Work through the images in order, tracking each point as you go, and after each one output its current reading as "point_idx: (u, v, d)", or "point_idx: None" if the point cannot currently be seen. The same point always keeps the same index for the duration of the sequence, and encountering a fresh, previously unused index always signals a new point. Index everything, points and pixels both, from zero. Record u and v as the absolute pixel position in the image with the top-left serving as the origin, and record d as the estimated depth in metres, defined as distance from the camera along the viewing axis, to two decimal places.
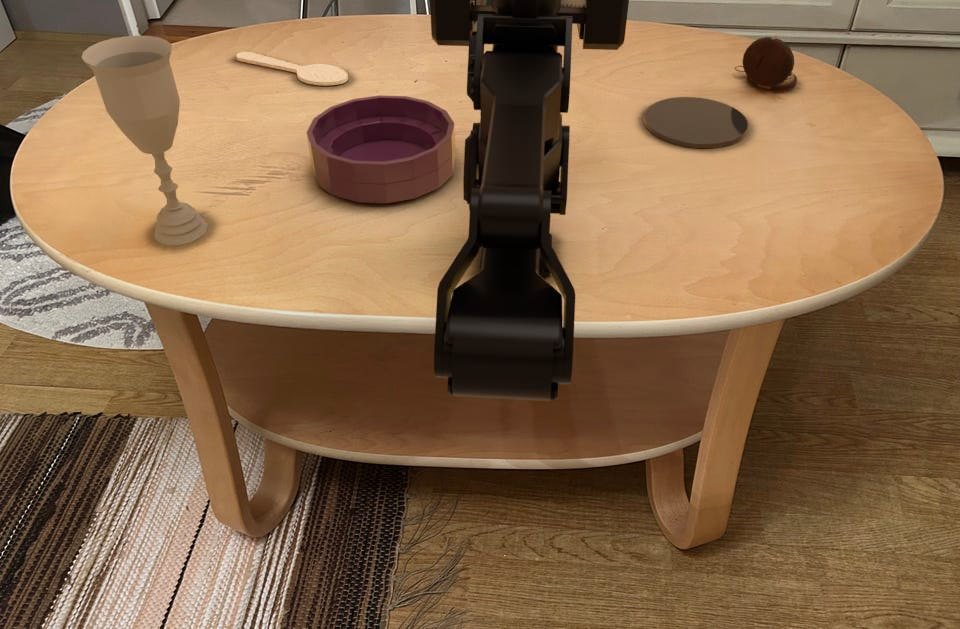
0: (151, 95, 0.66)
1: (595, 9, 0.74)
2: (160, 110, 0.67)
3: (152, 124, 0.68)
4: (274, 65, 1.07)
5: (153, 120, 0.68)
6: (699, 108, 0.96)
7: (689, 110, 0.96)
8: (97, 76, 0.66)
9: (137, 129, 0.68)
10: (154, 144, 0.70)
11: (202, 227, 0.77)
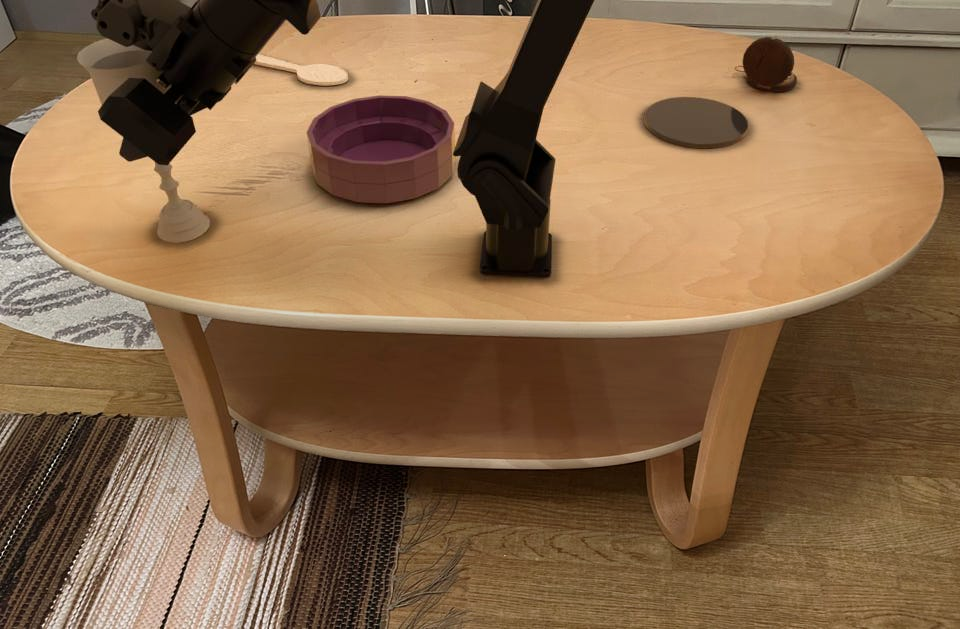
0: None
1: None
2: None
3: None
4: (274, 65, 1.07)
5: None
6: (699, 108, 0.96)
7: (689, 110, 0.96)
8: (93, 77, 0.66)
9: None
10: None
11: (204, 224, 0.78)
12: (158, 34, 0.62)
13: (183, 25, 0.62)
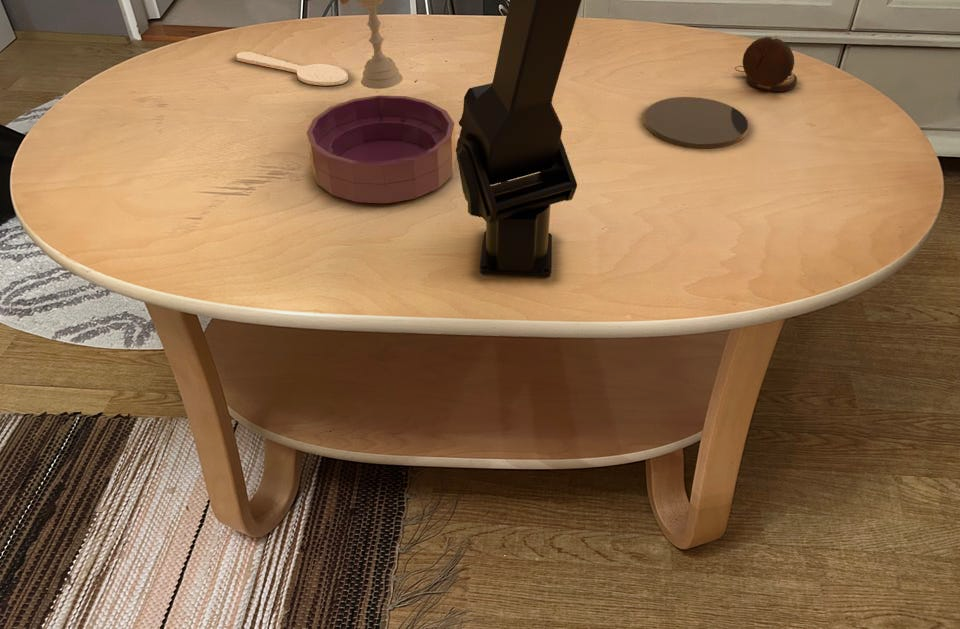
0: None
1: None
2: None
3: None
4: (274, 65, 1.07)
5: None
6: (699, 108, 0.96)
7: (689, 110, 0.96)
8: None
9: None
10: None
11: (389, 82, 0.93)
12: None
13: None
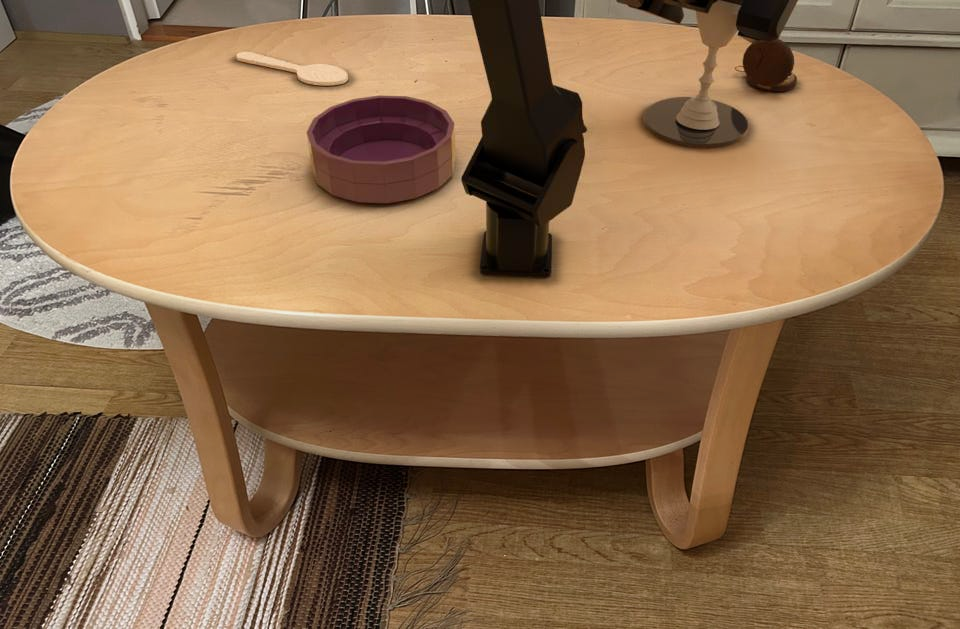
0: None
1: None
2: None
3: None
4: (274, 65, 1.07)
5: None
6: None
7: None
8: None
9: None
10: None
11: (689, 122, 0.92)
12: None
13: None
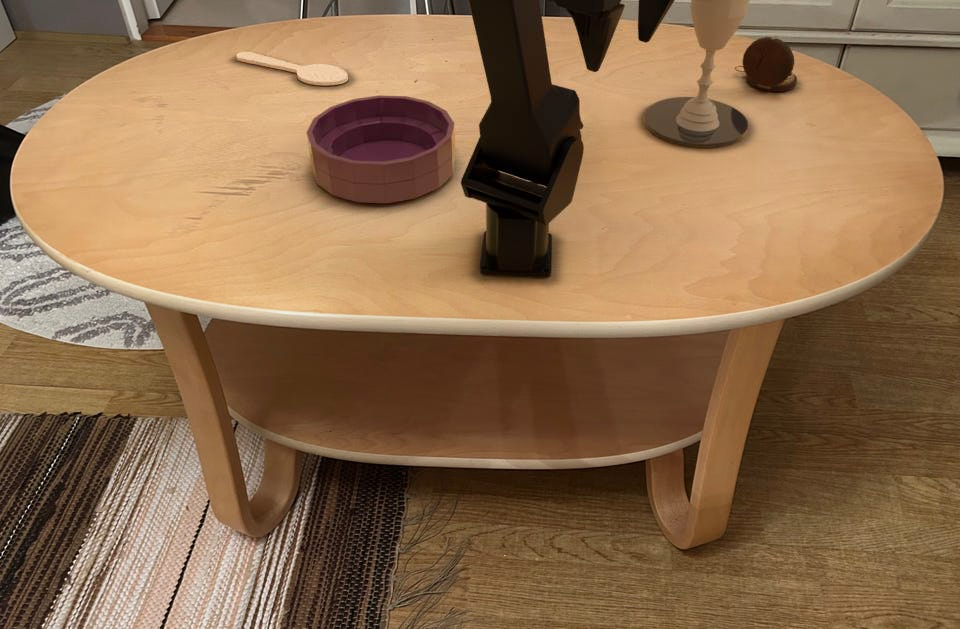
0: None
1: None
2: (693, 6, 0.84)
3: (691, 13, 0.85)
4: (274, 65, 1.07)
5: (692, 10, 0.85)
6: None
7: None
8: None
9: None
10: (696, 33, 0.87)
11: (689, 125, 0.92)
12: None
13: None
